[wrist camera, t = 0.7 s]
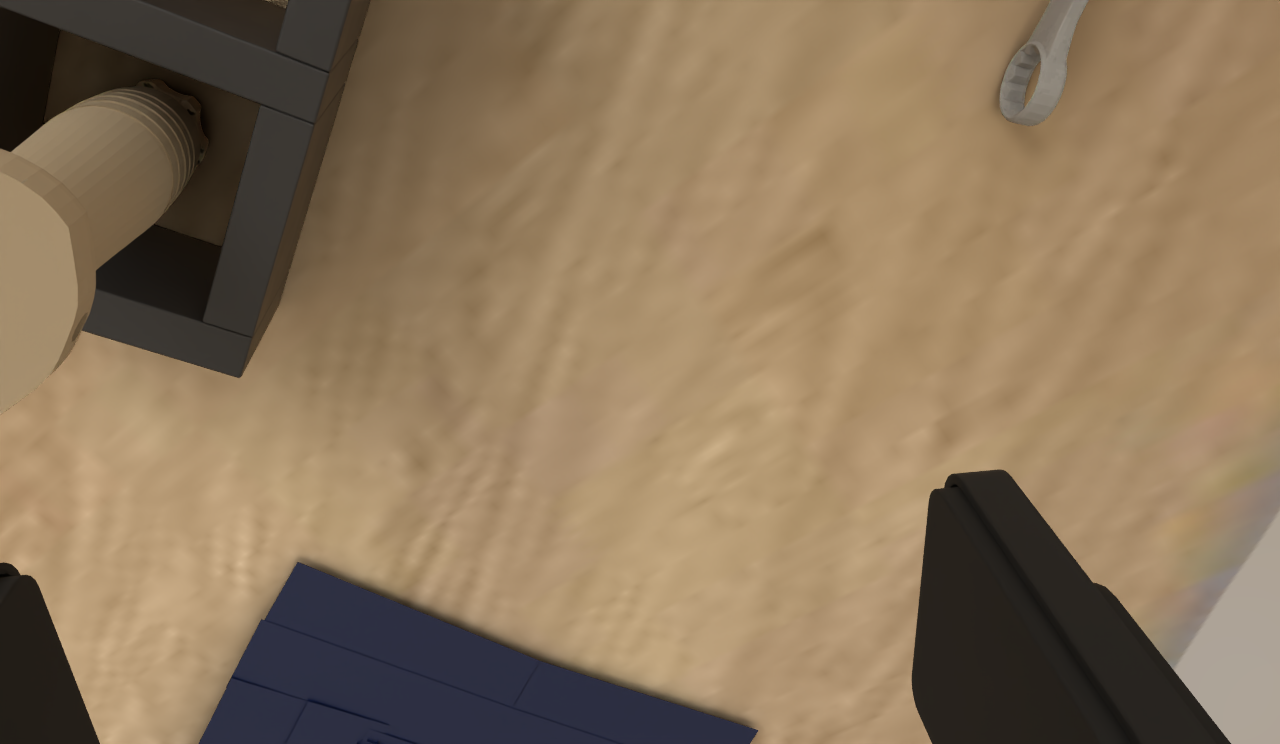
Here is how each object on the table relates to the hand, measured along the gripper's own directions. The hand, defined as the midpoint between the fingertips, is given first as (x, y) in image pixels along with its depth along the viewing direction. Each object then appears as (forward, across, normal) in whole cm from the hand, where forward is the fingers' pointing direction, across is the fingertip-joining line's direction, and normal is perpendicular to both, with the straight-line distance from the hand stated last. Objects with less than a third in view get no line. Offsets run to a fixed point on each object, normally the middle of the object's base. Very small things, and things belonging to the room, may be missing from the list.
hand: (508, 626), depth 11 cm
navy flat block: (+29, +9, +38) cm, 49 cm away
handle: (+29, +12, +1) cm, 31 cm away
